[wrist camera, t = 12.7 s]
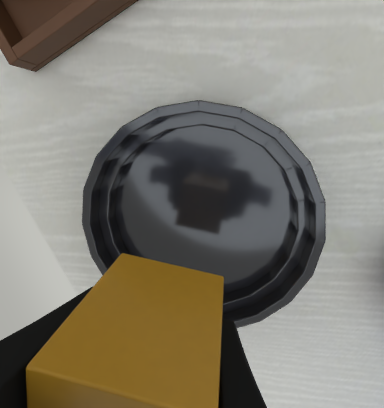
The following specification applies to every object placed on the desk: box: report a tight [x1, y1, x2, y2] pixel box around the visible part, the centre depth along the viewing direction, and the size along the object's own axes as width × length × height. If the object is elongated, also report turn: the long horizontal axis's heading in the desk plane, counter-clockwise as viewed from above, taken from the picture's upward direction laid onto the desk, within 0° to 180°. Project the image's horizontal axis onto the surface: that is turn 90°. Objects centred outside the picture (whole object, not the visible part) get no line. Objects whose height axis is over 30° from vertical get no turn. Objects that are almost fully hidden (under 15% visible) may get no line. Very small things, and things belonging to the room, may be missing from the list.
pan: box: [82, 100, 326, 328], centre depth 15 cm, size 13×13×2 cm
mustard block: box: [26, 253, 224, 408], centre depth 8 cm, size 4×4×5 cm
